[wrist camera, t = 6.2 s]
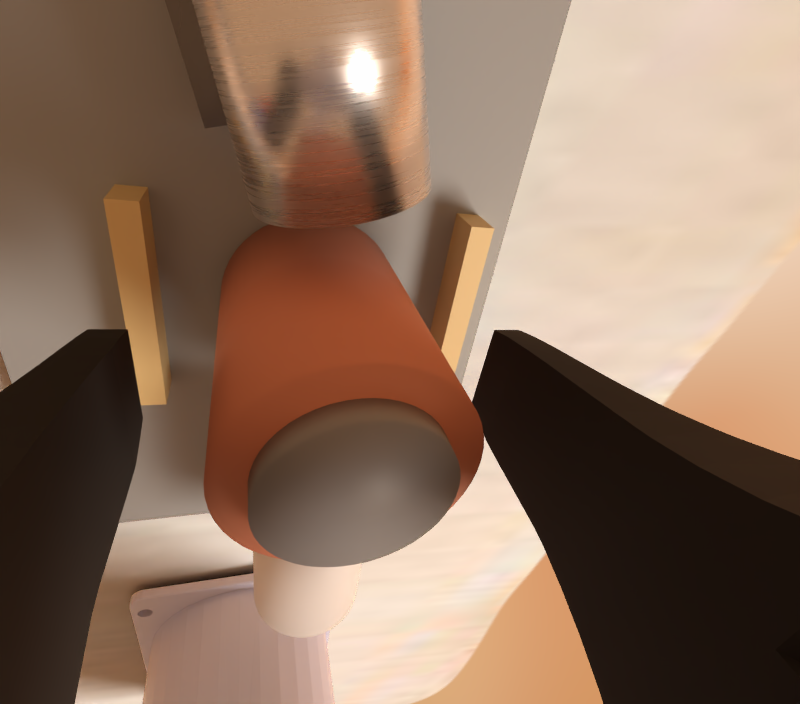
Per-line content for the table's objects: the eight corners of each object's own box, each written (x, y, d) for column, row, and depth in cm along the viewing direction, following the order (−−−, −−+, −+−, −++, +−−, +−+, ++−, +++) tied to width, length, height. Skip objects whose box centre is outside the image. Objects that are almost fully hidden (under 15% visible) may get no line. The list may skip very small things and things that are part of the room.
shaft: (407, 139, 11) (489, 199, 7) (226, 169, 10) (216, 251, 6) (385, -146, 8) (499, -283, 4) (135, -130, 7) (31, -274, 4)
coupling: (386, 362, 14) (468, 561, 9) (229, 373, 13) (219, 610, 8) (402, 216, 12) (527, 373, 6) (210, 213, 10) (177, 402, 5)
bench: (423, 469, 19) (477, 604, 14) (71, 502, 15) (1, 697, 11) (560, -47, 10) (793, -98, 6) (-170, -258, 7) (-978, -802, 2)
